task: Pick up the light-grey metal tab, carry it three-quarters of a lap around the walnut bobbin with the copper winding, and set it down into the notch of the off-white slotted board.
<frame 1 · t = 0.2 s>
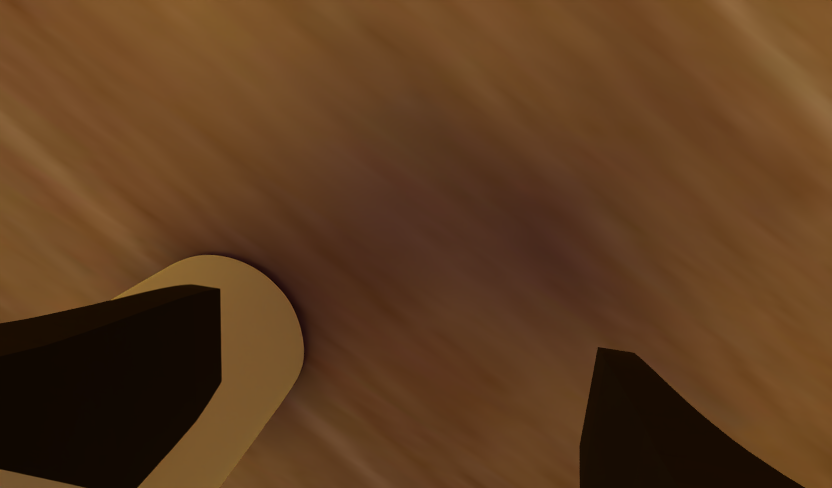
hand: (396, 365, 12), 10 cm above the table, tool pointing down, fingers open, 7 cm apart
can: (229, 329, 24), on the table
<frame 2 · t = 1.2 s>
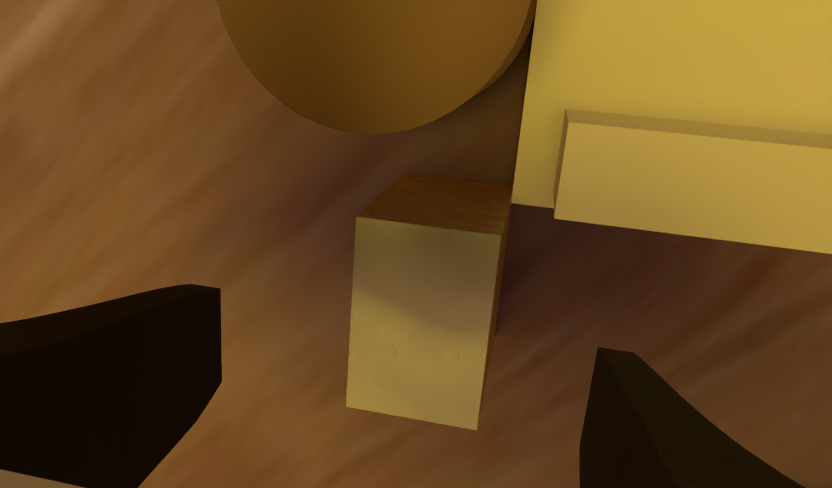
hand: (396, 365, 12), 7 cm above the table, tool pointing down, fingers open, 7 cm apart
tab: (451, 255, 18), on the table
notch board: (708, 11, 15), on the table
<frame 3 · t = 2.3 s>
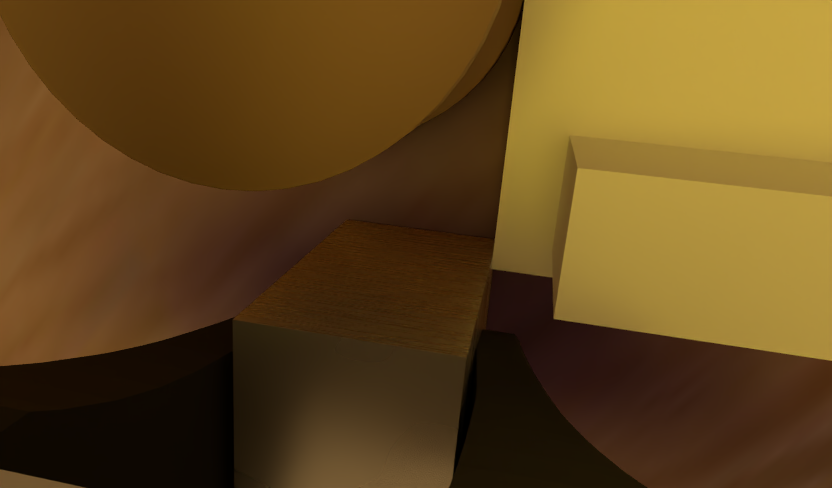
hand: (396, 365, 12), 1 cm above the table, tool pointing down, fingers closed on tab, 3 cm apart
tab: (411, 333, 13), on the table, touching gripper
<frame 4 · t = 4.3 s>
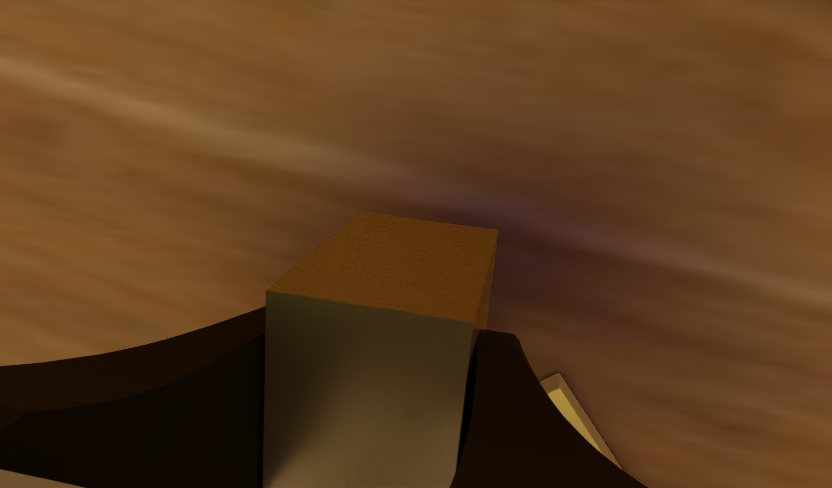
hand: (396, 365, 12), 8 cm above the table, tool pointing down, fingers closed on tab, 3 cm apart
tab: (419, 317, 14), point 6 cm above the table, touching gripper
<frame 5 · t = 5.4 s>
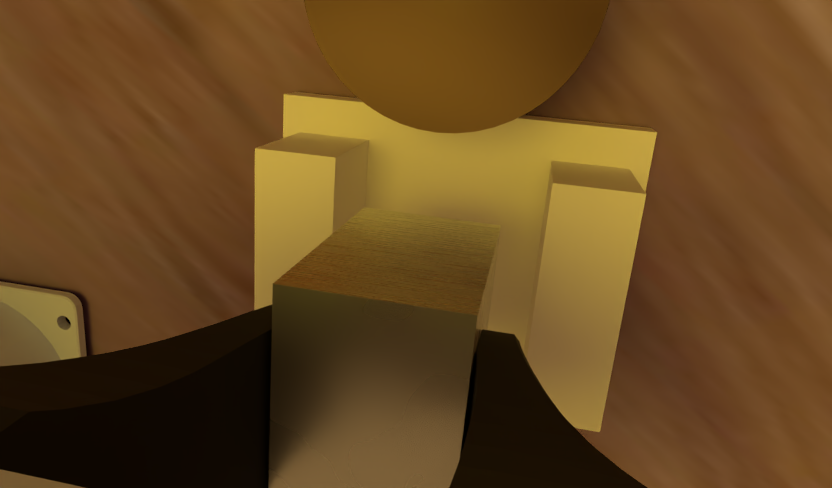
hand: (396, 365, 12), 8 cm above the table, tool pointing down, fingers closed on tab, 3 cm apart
tab: (422, 312, 15), point 5 cm above the table, touching gripper
notch board: (452, 244, 19), on the table
when the fingers open (5 cm above the table, at t = 6.2 s): tab drops 1 cm, resting on notch board.
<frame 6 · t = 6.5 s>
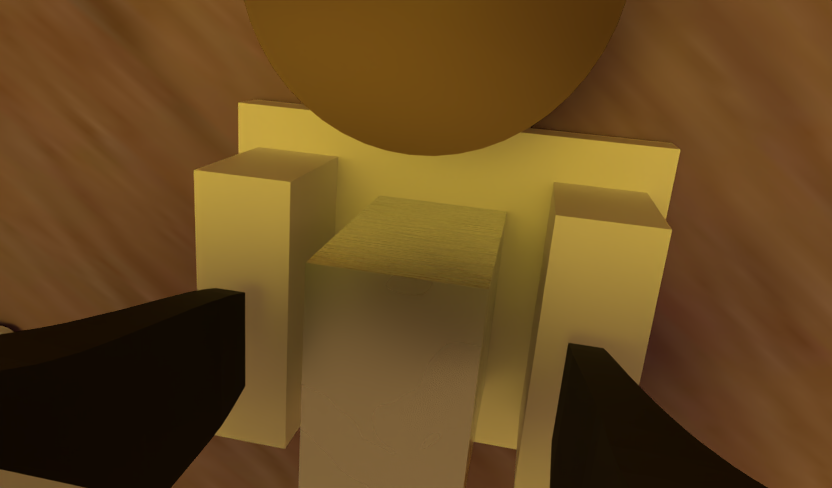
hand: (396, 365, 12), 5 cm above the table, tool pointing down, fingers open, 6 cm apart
tab: (433, 292, 16), point 1 cm above the table, touching notch board
notch board: (438, 276, 17), on the table
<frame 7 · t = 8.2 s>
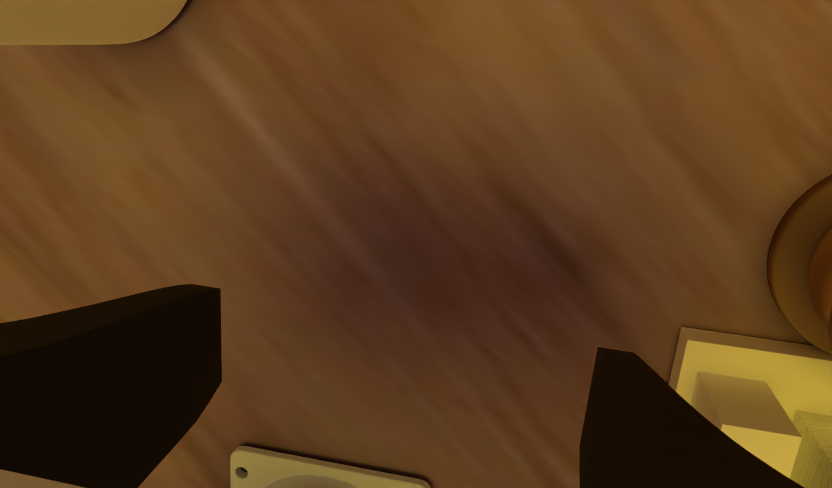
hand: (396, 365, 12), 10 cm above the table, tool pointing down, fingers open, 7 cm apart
tab: (828, 480, 20), point 1 cm above the table, touching notch board
notch board: (814, 459, 21), on the table
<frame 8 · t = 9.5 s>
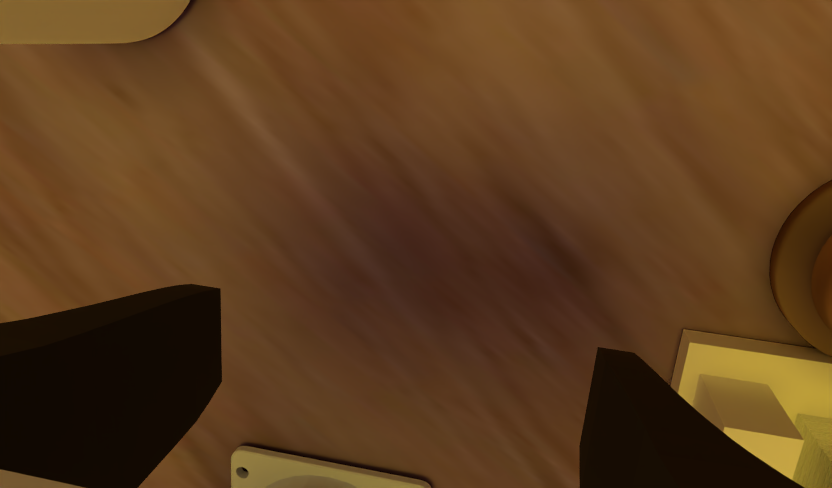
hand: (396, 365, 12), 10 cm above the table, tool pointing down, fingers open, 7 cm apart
tab: (829, 483, 20), point 1 cm above the table, touching notch board
notch board: (816, 462, 21), on the table
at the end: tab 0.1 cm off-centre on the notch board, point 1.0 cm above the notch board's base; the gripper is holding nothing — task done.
